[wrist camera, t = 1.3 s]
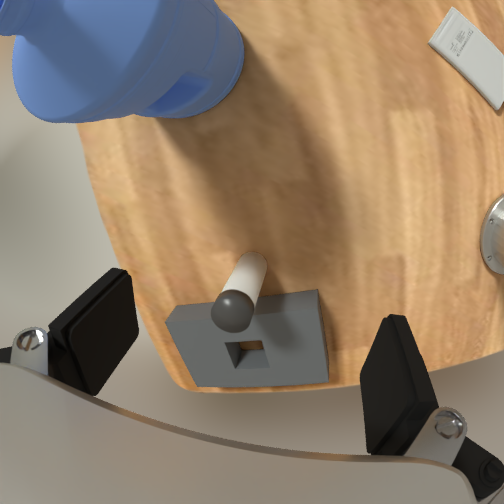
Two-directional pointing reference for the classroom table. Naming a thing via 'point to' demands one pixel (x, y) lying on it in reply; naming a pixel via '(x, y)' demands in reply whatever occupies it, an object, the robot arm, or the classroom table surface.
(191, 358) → the socket block
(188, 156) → the classroom table surface
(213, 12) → the water jug
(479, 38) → the external hard drive
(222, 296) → the peg
